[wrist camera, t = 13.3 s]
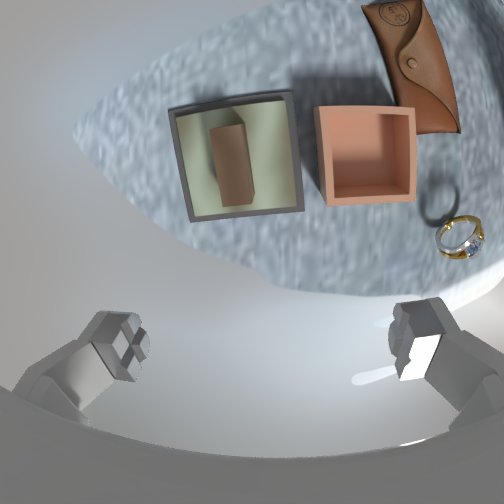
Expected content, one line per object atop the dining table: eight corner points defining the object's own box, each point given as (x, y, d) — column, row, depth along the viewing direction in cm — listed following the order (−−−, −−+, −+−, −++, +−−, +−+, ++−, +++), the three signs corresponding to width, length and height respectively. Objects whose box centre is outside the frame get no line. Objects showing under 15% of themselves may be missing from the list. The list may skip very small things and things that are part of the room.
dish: (396, 107, 26) (414, 107, 22) (398, 188, 31) (415, 201, 26) (312, 107, 28) (318, 106, 23) (320, 192, 32) (326, 206, 28)
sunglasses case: (355, 2, 21) (398, -15, 15) (389, 8, 22) (428, -3, 17) (401, 142, 28) (448, 144, 22) (427, 131, 30) (469, 134, 24)
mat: (292, 91, 27) (292, 91, 27) (304, 210, 33) (304, 211, 33) (169, 111, 29) (168, 111, 29) (191, 221, 35) (190, 222, 35)
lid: (284, 100, 27) (286, 98, 23) (296, 204, 33) (299, 218, 28) (178, 117, 29) (162, 119, 25) (196, 214, 34) (185, 229, 30)
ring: (461, 202, 30) (494, 225, 23) (466, 221, 31) (497, 246, 24) (423, 225, 33) (452, 253, 26) (429, 243, 34) (456, 274, 27)
